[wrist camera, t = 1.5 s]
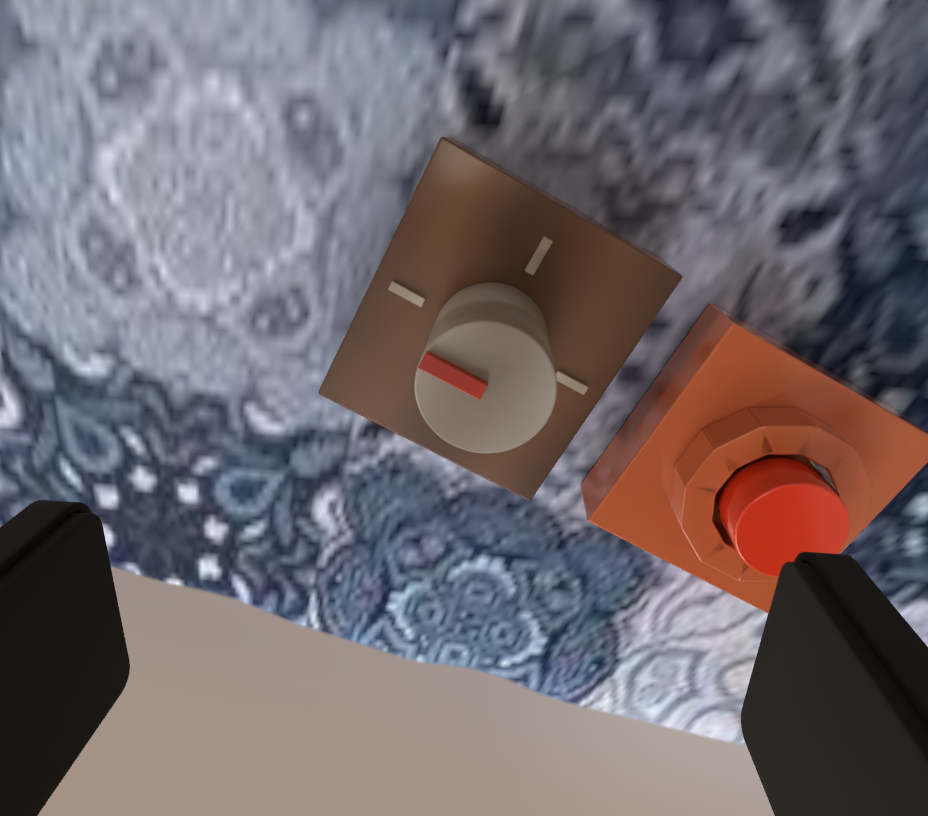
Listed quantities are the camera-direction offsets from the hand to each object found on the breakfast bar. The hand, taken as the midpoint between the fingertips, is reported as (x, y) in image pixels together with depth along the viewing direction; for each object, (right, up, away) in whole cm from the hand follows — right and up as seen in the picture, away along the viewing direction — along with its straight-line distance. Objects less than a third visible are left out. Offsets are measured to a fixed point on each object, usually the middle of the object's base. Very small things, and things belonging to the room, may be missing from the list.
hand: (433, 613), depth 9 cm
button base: (+13, +1, +20) cm, 24 cm away
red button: (+12, -1, +16) cm, 20 cm away
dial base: (+2, +7, +19) cm, 20 cm away
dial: (+1, +5, +16) cm, 17 cm away
